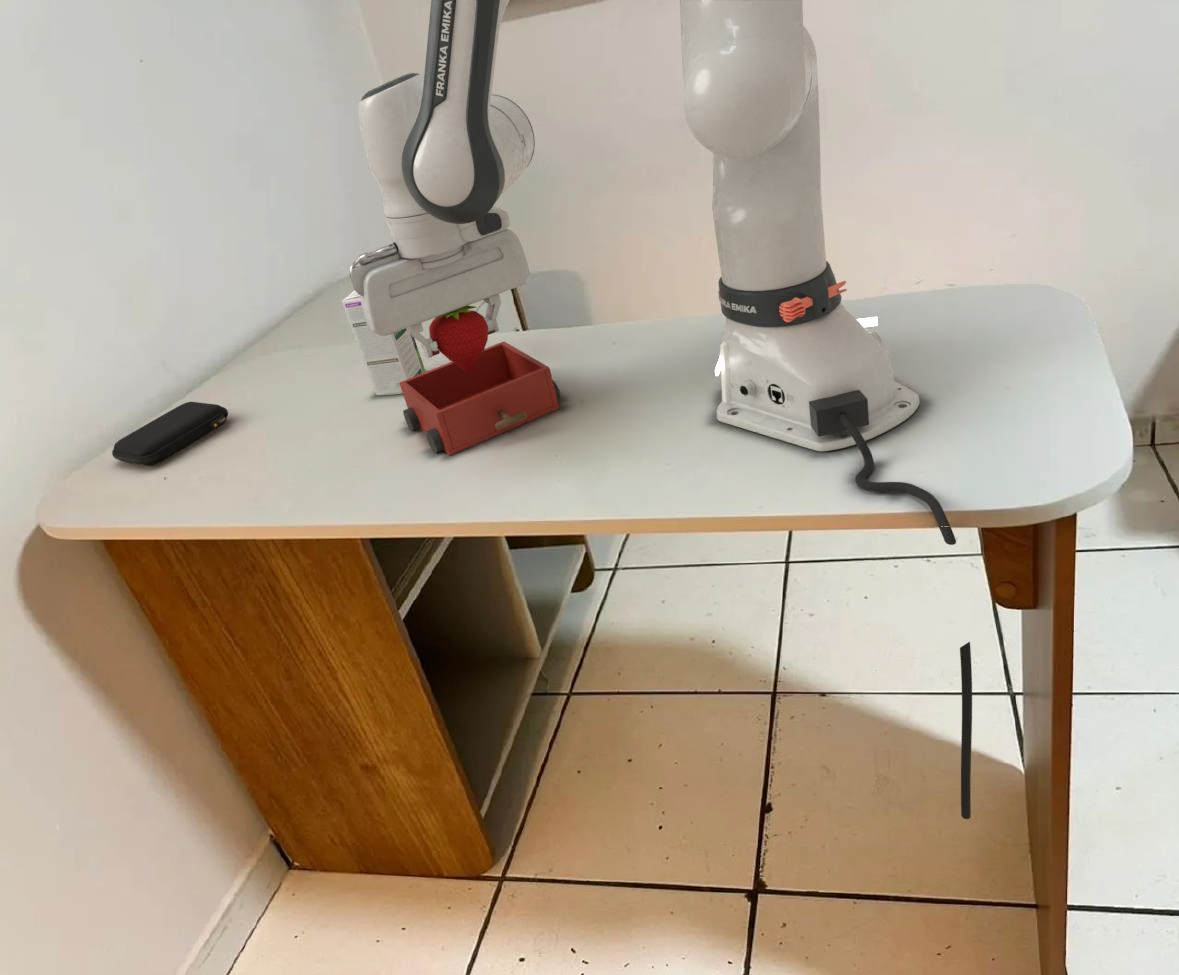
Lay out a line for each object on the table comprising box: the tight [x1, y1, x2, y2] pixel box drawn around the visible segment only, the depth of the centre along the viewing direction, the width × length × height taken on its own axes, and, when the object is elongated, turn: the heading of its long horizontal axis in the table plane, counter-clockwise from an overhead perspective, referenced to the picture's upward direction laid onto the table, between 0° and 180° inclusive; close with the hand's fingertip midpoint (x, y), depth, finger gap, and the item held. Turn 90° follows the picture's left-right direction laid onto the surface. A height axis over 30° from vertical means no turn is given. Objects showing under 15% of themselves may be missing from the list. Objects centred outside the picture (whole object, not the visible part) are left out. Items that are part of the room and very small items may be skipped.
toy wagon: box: [399, 340, 562, 456], centre depth 115 cm, size 17×17×6 cm
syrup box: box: [341, 289, 427, 396], centre depth 129 cm, size 6×6×14 cm
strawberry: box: [428, 305, 489, 372], centre depth 113 cm, size 6×8×10 cm
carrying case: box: [111, 401, 229, 467], centre depth 130 cm, size 11×3×15 cm
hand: (462, 343), depth 113 cm, fingers closed on strawberry, 6 cm apart
